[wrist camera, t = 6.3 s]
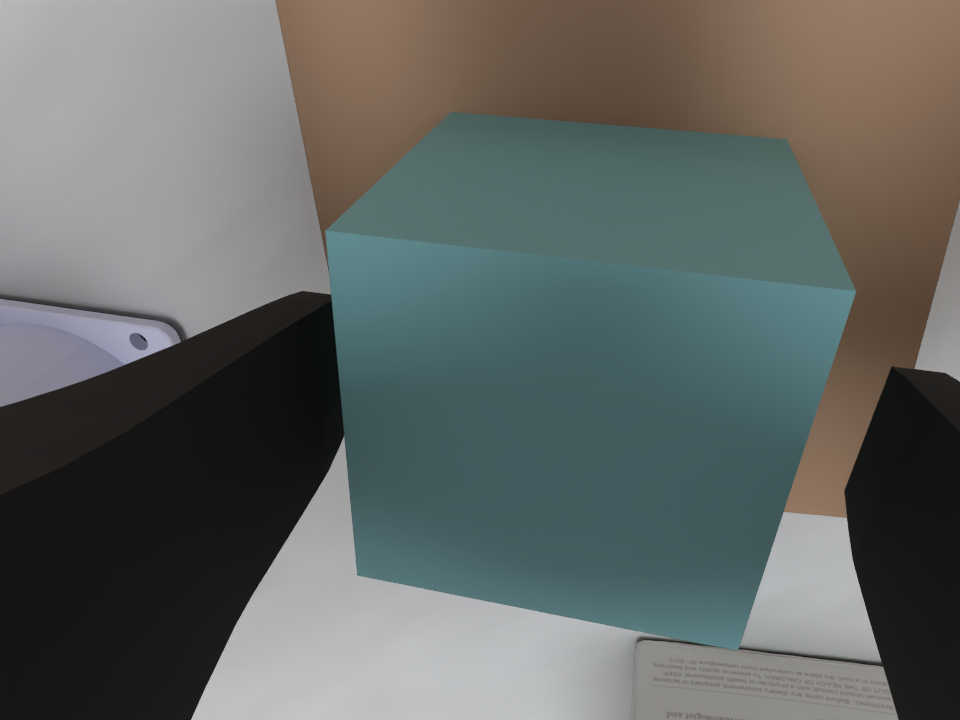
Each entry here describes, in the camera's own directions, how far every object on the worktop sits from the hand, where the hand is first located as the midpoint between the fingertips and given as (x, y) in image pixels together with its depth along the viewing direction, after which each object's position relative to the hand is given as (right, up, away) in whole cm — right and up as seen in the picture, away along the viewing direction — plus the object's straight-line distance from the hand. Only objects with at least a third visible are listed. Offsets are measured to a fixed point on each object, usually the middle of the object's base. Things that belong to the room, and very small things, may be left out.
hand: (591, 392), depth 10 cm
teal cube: (0, +2, +2) cm, 3 cm away
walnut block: (+1, +4, +6) cm, 7 cm away
